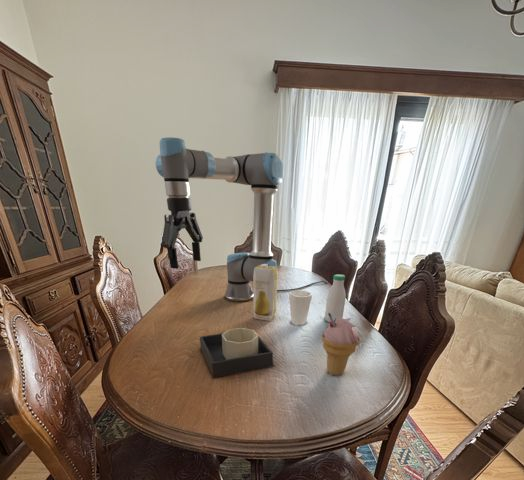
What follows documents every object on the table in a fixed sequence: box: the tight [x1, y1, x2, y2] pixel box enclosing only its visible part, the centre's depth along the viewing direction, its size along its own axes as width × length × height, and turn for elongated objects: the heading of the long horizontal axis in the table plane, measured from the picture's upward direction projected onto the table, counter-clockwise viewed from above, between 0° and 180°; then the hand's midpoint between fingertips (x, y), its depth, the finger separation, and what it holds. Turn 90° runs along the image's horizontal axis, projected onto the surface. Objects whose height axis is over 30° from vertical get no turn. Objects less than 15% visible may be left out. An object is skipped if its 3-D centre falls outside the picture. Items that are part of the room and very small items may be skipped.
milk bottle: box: [324, 273, 347, 323], centre depth 124 cm, size 8×8×20 cm
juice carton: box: [252, 264, 278, 322], centre depth 124 cm, size 9×8×24 cm
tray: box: [199, 328, 274, 378], centre depth 97 cm, size 20×20×5 cm
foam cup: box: [288, 289, 313, 326], centre depth 123 cm, size 10×9×13 cm
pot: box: [222, 327, 259, 360], centre depth 94 cm, size 8×11×11 cm
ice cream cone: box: [321, 313, 361, 377], centre depth 86 cm, size 11×11×20 cm
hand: (186, 264), depth 103 cm, fingers open, 13 cm apart
